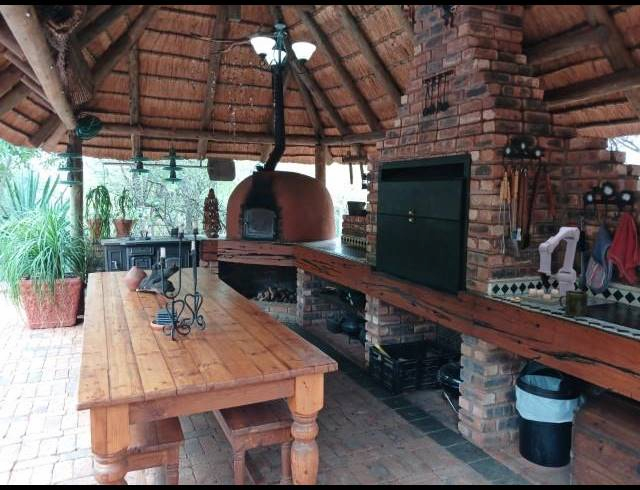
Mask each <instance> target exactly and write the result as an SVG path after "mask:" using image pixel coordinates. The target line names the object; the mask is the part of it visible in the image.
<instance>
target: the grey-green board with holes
mask: <svg viewBox="0 0 640 490" xmlns="http://www.w3.org/2000/svg"><path fill="white" fill-rule="evenodd" d="M560 297H561V296H559V295H558V298H552V297H551V300H544V299H543V296H539V295H537V292H536V297H529V293H528V294H524V295H523V294H522V295H520V296H519V299H523V300H522V301H525V302H526V301H527V302H530V303H537V304H543V305H548V306H553V305H556V304H557V305H558V304H560V303H559V298H560ZM561 303H566V297H564V298H562V299H561Z"/></svg>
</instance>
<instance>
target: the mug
mask: <svg viewBox="0 0 640 490" xmlns="http://www.w3.org/2000/svg"><path fill="white" fill-rule="evenodd" d="M565 292H566V296H561V297H560V298H559V303H558V304H559V305H560V307H561V308H562V309H564V310H565V312H564V313H565V314H567V315H569V316H575V317H577V316H578V317H584V316H587V313H588V312H587V311H588V310H587V309H588V295H589V292H587V291H583V290H569V291H565ZM564 297H566V301H565V306H564V305H563V302H561V299H562V298H564Z"/></svg>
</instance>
